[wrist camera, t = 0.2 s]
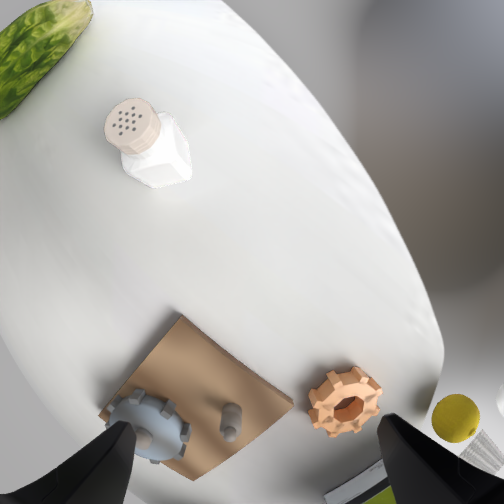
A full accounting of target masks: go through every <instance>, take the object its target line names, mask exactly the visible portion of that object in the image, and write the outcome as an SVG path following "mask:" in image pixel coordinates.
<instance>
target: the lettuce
mask: <svg viewBox="0 0 504 504" xmlns="http://www.w3.org/2000/svg"><path fill="white" fill-rule="evenodd" d="M93 14H94V12H93V9H92V5H91V2H90V1H89V0H52V1H49V2H45V3H42V4H39V5H37V6H35V7H33V8H31V9H29V10H28V11H26V12H25V13H24V14H22V15H21V16H19V17H18V18H17V19H16V20H14V21H13V22H12V23H11V24H10V25H9V26H8V27H6V28H5V29H4V30H3V31H1V32H0V120H1V119H3V118H5V117H6V116H7V115H8V114H9V113H10V112H12V111H13V110H14V109H15V108H16V107H17V106H18V104H19V103H20V102H21V101H22V100H23V99H24V98H25V97H26V96H27V95H28V93H29V92H30V91H31V90H32V88H33V87H34V86H35V85H36V84H37V83H38V82H39V81H40V79H41V78H42V77H43V76H44V75H45V74H46V73H47V72H48V71H49V70H50V69H51V68H52V67H53V66H54V65H55V64H56V63H57V62H58V61H59V60H60V59H61V58H62V56H63V55H64V54H65V53H66V52H67V51H68V49H69V48H70V47H71V46H72V44H73V43H74V42H75V40H76V39H77V37H78V36H79V35H80V34H81V33H82V31H83V30H84V29H85V28H86V27H87V26H88V24H89V22H90V21H91V18H92V16H93Z"/></svg>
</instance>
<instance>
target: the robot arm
mask: <svg viewBox="0 0 504 504" xmlns="http://www.w3.org/2000/svg"><path fill="white" fill-rule="evenodd" d="M377 435H378V440H379V444H380V449H381V454H382V459H383V463H384V467H385V470H386V473H387V476H388V479H389V482H390V485H391V488H392V492H393V495H394V498H395V501H396V504H504V479H502V478H499V477H497V476H494V475H492V474H490V473H487V472H485V471H483V470H481V469H479V468H477V467H475V466H473V465H471V464H469V463H468V462H466V461H464V460H463V459H461V458H460V457H459V458H458V456H456V455H455V454H453V453H452V452H450V451H449V450H447V449H446V448H444V447H442V446H441V445H440V444H438V443H437V442H435V441H434V440H432V439H431V438H429V437H428V436H426V435H425V434H423V433H422V432H421V431H419V430H418V429H416V428H415V427H413V426H412V425H411V424H409V423H408V422H406V421H405V420H403V419H402V418H401V417H399V416H398V415H396V414H395V413H390V414H386V415H384V416H383V417H382V419H381V421H380V424H379V426H378V428H377ZM136 440H137V437H136V433H135V431H134V429H133V427H132V425H131V423H130V422H128V421H124V420H118V421H117V422H115V423H114V424H113V425H111V426H110V427H109V428H108V429H106V430H105V431H104V432H103V433H101V434H100V435H99V436H97V437H96V438H95V439H94V440H92V441H91V442H90V443H88V444H87V445H86V446H84V447H83V448H82V449H81V450H79V451H78V452H77V453H75V454H74V455H73V456H71V457H70V458H68V459H67V460H66V461H65V462H63V463H62V464H60V465H59V466H58V467H57V468H55V469H53V470H52V471H50V472H49V473H48V474H46V475H45V476H43V477H41V478H40V479H38V480H36V481H34V482H33V483H30V484H29V485H26V486H24V487H22V488H20V489H18V490H16V491H14V492H11V493H8V494H0V504H123V501H124V497H125V494H126V490H127V486H128V483H129V479H130V475H131V471H132V465H133V459H134V452H135V446H136Z"/></svg>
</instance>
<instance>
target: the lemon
mask: <svg viewBox="0 0 504 504" xmlns="http://www.w3.org/2000/svg"><path fill="white" fill-rule="evenodd" d="M479 418H480V413H479V410H478V408H477V406H476V404H475V403H474V402H473V401H472V400H471V399H470V398H468V397H466V396H464V395H461V394H452V395H449V396H447V397H445V398H443V399H442V400H441V401H440V402H438V403H437V405H436V407H435V409H434V411H433V414H432V426H433V429H434V431H435V432H436V434H437V435H438V436H439V437H440V438H442V439H443V440H445V441H447V442H450V443H459V442H462V441H464V440H466V439H468V438H469V437H470V436H472V435H474V434H475V432H476V429H477V427H478V424H479V420H480V419H479Z"/></svg>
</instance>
